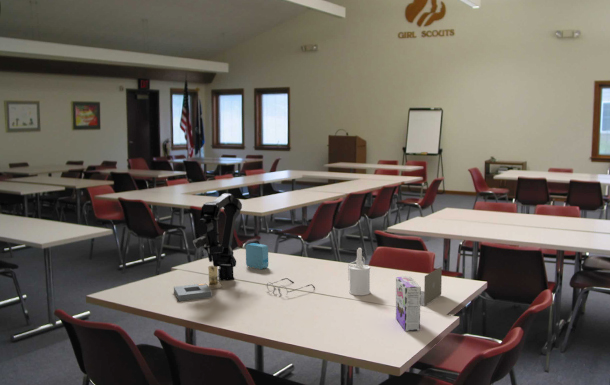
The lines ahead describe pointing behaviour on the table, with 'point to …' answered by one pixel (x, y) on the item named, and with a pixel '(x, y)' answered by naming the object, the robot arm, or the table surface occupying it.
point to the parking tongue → (214, 286)
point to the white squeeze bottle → (359, 276)
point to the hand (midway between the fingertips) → (212, 264)
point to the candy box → (408, 303)
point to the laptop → (431, 287)
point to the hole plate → (192, 292)
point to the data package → (257, 255)
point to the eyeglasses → (284, 286)
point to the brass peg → (213, 275)
